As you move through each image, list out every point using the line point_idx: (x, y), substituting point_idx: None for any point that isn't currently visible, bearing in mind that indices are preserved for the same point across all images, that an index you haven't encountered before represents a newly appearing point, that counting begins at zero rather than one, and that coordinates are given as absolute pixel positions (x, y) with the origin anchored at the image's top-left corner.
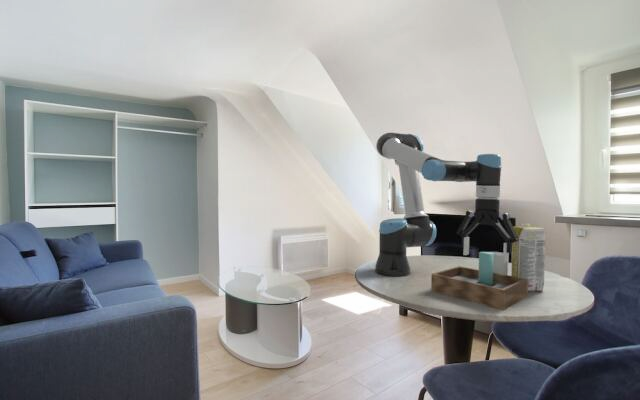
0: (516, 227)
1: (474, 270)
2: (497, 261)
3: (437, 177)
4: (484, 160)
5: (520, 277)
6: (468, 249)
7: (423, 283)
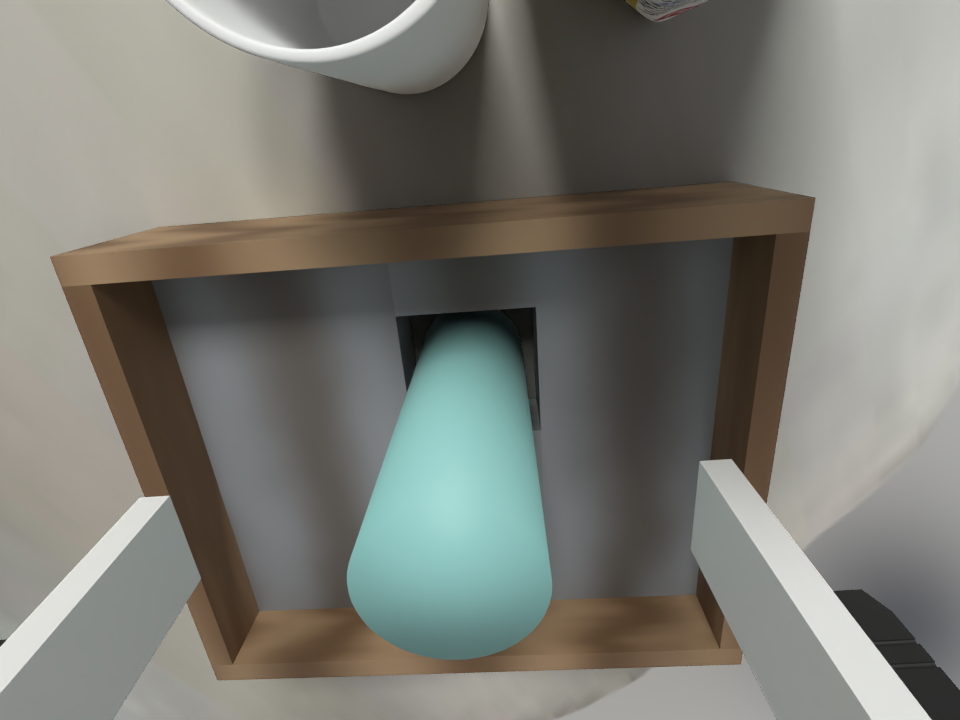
0: None
1: (255, 270)
2: (397, 61)
3: None
4: None
5: (674, 1)
6: (127, 565)
7: (118, 504)
